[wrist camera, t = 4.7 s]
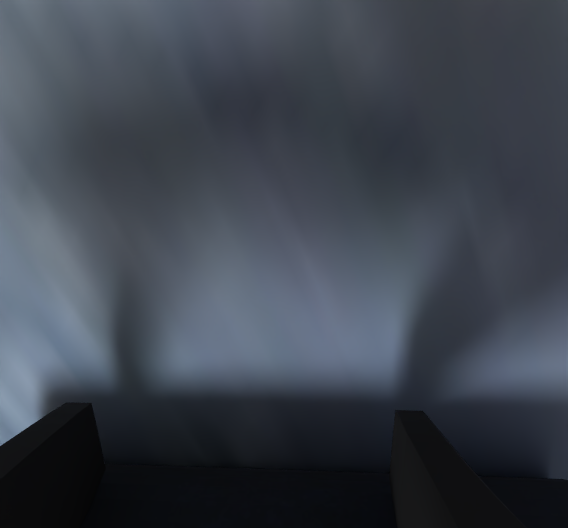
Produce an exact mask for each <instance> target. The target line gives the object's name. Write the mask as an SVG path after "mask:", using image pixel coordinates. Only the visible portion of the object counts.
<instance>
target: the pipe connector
mask: <svg viewBox="0 0 568 528" xmlns="http://www.w3.org/2000/svg"><path fill="white" fill-rule="evenodd" d="M105 468H106V469H105V472H104V474H103V477H102V479H101V482H100V484H99V487H98V489H97V492H96V494H95V497H94V499H93V501H92V503H91V506H90V508H89V510H88V513H87V515H86V516H85V518H84V520H83V522H82V524H81V526H80V528H397V524H396V518H395V513H394V507H393V501H392V494H391V488H390V482H389V473H366V472H336V471H306V470H276V469H247V468H217V467H187V466H158V465H128V464H105ZM478 477H479V478H480V479H481V480H482V481H483V482H484V483H485V484H486V485H487V486H488V488H489V489H490V490H491V491H492V492H493V493H494V494H495V495H496V496H497V498H498V499H499V500H500V501H501V502H502V503H503V504H504V505H505V506H506V507H507V508H508V509H509V510H510V511H511V512H512V513H513V514H514V515H515V516H516V517H517V518H518V520H519V521H520V522H521V523H522V524H523V525H524V526H525V527H526V528H568V480H564V479H544V478H514V477H484V476H478Z"/></svg>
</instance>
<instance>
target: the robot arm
mask: <svg viewBox="0 0 568 528" xmlns="http://www.w3.org/2000/svg"><path fill="white" fill-rule="evenodd" d="M105 469H106V468H105V463H104V459H103V454H102V449H101V445H100V440H99V436H98V431H97V426H96V422H95V417H94V413H93V408H92V403H65V404H64V405H62V406H60V407H59V408H57V409H55V410H54V411H52V412H51V413H49V414H48V415H46V416H45V417H43V418H42V419H40V420H38V421H37V422H35V423H34V424H32V425H31V426H30V427H28V428H27V429H25V430H24V431H22V432H21V433H19V434H18V435H16V436H15V437H13V438H12V439H10V440H9V441H7V442H6V443H4V444H3V445H1V446H0V528H80V526H81V524H82V522H83V520H84V518H85V516H86V515H87V513H88V510H89V508H90V506H91V503H92V501H93V499H94V497H95V494H96V492H97V489H98V487H99V484H100V482H101V479H102V477H103V474H104V472H105ZM389 482H390V488H391V494H392V501H393V507H394V513H395V518H396V524H397V528H526V527H525V526H524V525H523V524H522V523H521V522H520V521H519V520H518V518H517V517H516V516H515V515H514V514H513V513H512V512H511V511H510V510H509V509H508V508H507V507H506V506H505V505H504V504H503V503H502V502H501V501H500V500H499V499H498V498H497V496H496V495H495V494H494V493H493V492H492V491H491V490H490V489H489V488H488V486H487V485H486V484H485V483H484V482H483V481H482V480H481V479H480V478H479V477H478V475H477V474H476V473H475V472H474V471H473V470H472V469H471V468H470V466H469V465H468V464H467V463H466V462H465V461H464V460H463V458H462V457H461V456H460V455H459V454H458V452H457V451H456V450H455V449H454V448H453V447H452V445H451V444H450V443H449V442H448V441H447V439H446V438H445V437H444V436H443V435H442V433H441V432H440V431H439V430H438V428H437V427H436V426H435V425H434V424H433V422H432V421H431V420H430V419H429V417H428V416H427V415H426V414H425V413H424V412H423V411H406V410H395V420H394V430H393V441H392V451H391V462H390V472H389Z"/></svg>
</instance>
